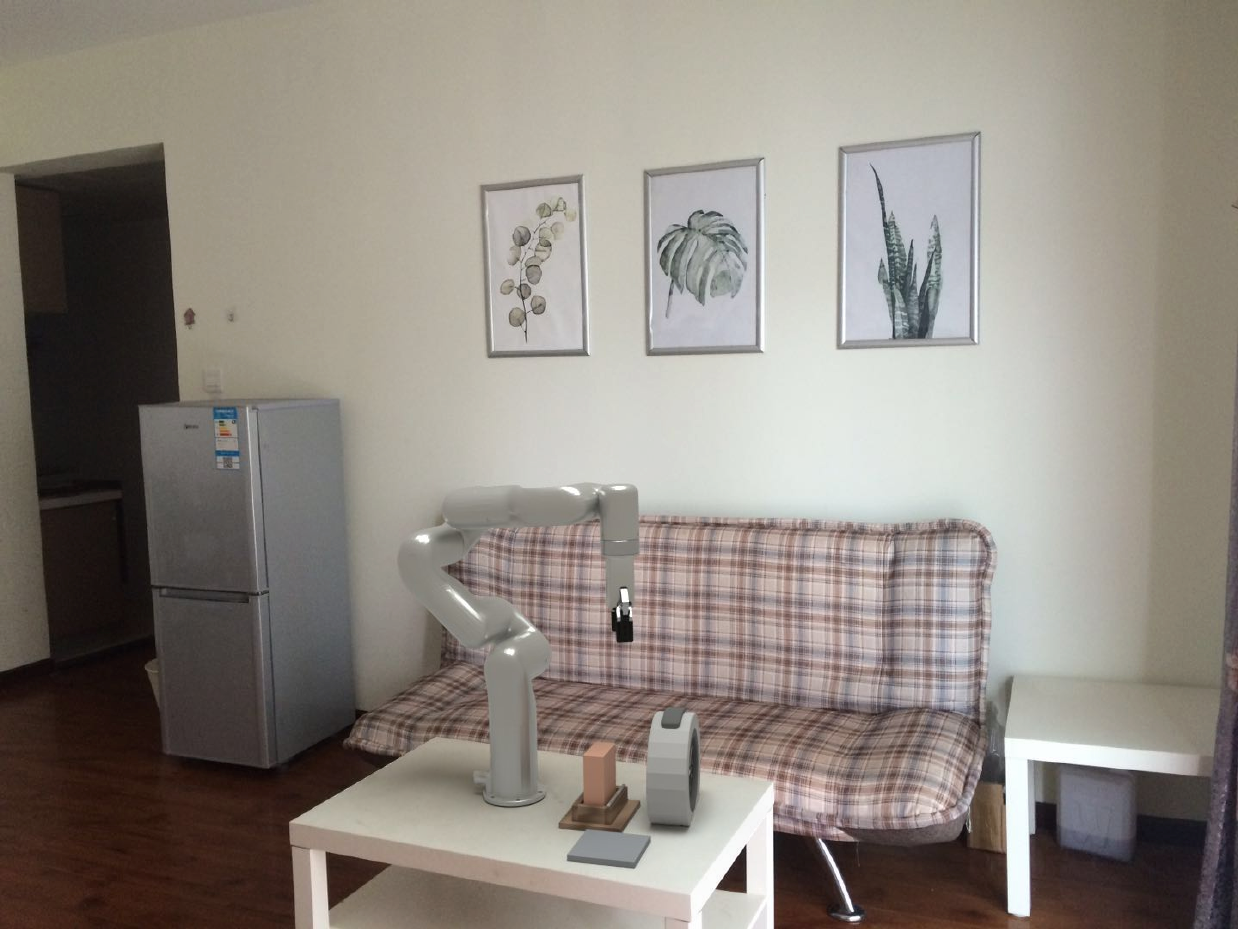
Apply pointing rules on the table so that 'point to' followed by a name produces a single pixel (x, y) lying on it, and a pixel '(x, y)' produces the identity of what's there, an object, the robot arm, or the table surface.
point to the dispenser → (601, 813)
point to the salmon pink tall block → (599, 774)
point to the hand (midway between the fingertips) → (622, 636)
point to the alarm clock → (673, 767)
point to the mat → (609, 848)
